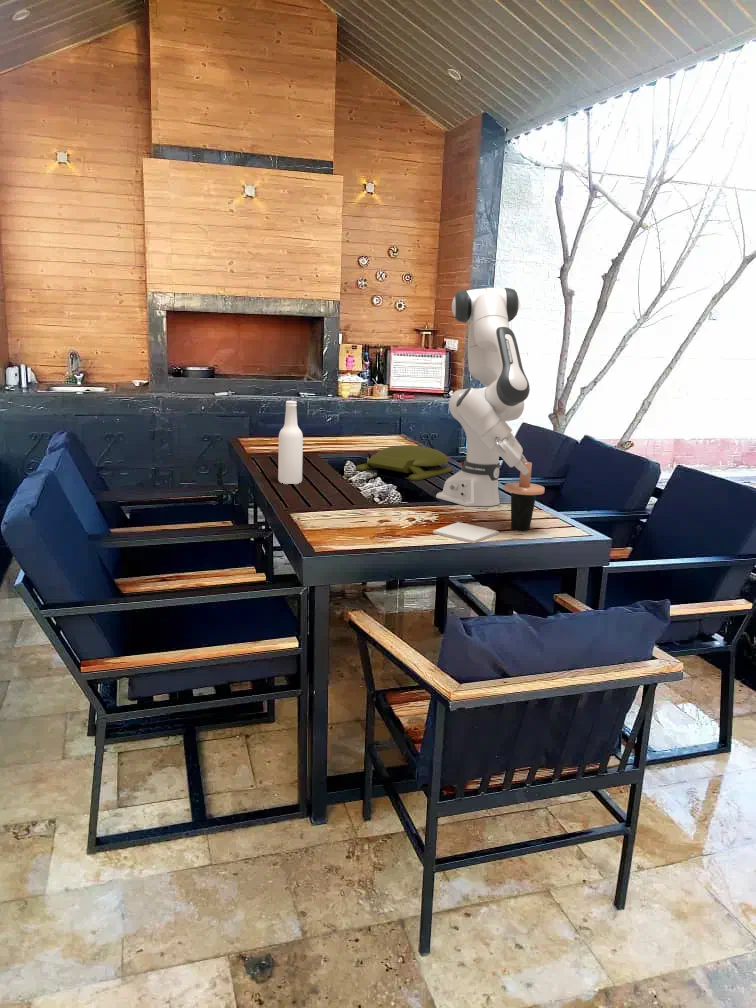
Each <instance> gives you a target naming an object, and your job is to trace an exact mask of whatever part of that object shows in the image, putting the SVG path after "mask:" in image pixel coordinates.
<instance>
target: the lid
mask: <svg viewBox="0 0 756 1008" xmlns="http://www.w3.org/2000/svg"><path fill="white" fill-rule="evenodd" d="M522 464H523V465H524V466H525V467H526V468H527V469H528V470H529V473H528V474H526V475H523V473H522V472H521V471H520V470H519V472H520V473H519V481H518V482H516V481H515V482H514V481H513V482H507V483H504V486H503V490H504V491H505V492H508V493H510V494H511V493H514V494H521V495H536V496H539V495H543V494H544V493H545V487H544V486H543V485H540V484H536V483H531V477H532V468H533V466H532V465H533V463H532V462H530V461H527V462H522Z"/></svg>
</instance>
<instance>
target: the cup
mask: <svg viewBox="0 0 756 1008" xmlns="http://www.w3.org/2000/svg"><path fill="white" fill-rule="evenodd" d="M536 498H537V495H521V494H514V493H510V528H511V530H513V531H516V530H517V531H518V532H528V531H530V529H531V524H532V523H531V522H532V518H533V514H534V508H535V503H536ZM517 531H516V532H517Z"/></svg>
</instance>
